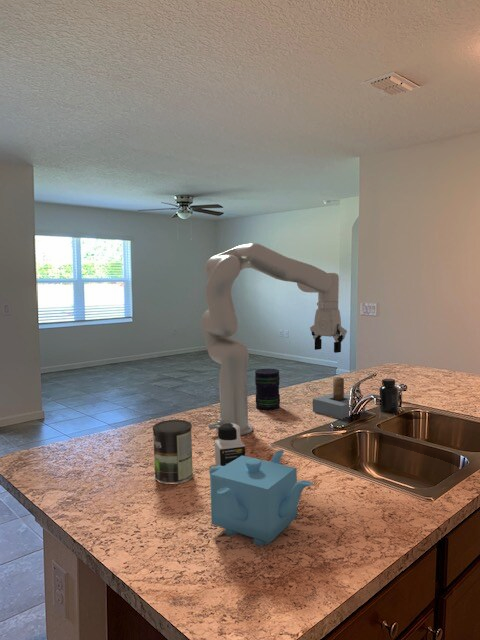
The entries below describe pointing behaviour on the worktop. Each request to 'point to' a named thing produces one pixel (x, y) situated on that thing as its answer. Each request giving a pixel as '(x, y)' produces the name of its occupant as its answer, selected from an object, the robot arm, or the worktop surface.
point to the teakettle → (255, 497)
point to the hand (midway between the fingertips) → (327, 350)
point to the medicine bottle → (228, 444)
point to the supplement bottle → (389, 396)
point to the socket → (332, 406)
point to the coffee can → (173, 451)
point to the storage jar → (267, 389)
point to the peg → (338, 389)
